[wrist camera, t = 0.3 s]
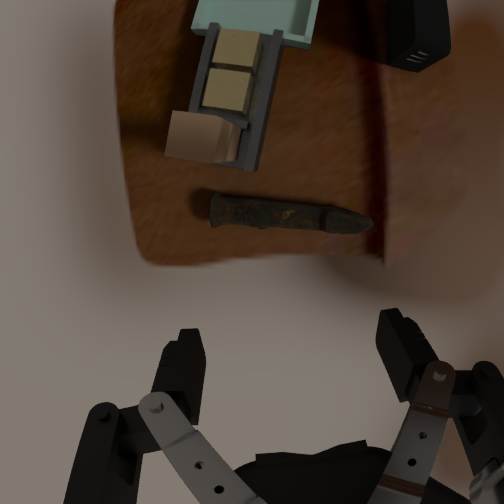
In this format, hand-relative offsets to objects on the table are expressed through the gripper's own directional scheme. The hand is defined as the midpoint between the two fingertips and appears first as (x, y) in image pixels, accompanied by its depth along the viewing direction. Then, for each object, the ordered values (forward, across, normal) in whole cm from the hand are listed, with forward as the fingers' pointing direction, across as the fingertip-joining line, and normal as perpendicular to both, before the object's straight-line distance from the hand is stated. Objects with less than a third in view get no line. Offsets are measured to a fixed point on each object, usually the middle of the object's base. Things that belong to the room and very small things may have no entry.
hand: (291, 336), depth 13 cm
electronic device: (+27, -19, -19) cm, 38 cm away
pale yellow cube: (+25, +2, -11) cm, 27 cm away
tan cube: (+26, +1, -15) cm, 30 cm away
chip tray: (+30, -2, -23) cm, 38 cm away
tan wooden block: (+24, +4, -6) cm, 25 cm away
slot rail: (+28, +2, -11) cm, 30 cm away
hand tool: (+26, -3, +3) cm, 26 cm away
